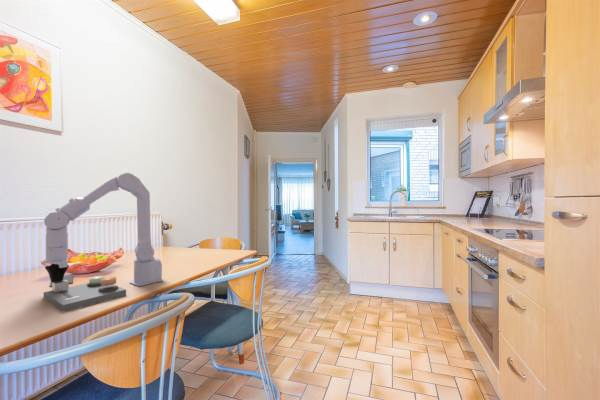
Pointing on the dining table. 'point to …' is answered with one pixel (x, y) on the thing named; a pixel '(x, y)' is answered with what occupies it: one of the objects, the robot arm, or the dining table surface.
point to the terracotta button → (108, 281)
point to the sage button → (95, 280)
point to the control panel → (83, 295)
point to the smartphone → (68, 278)
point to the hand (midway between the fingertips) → (56, 285)
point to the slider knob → (60, 286)
